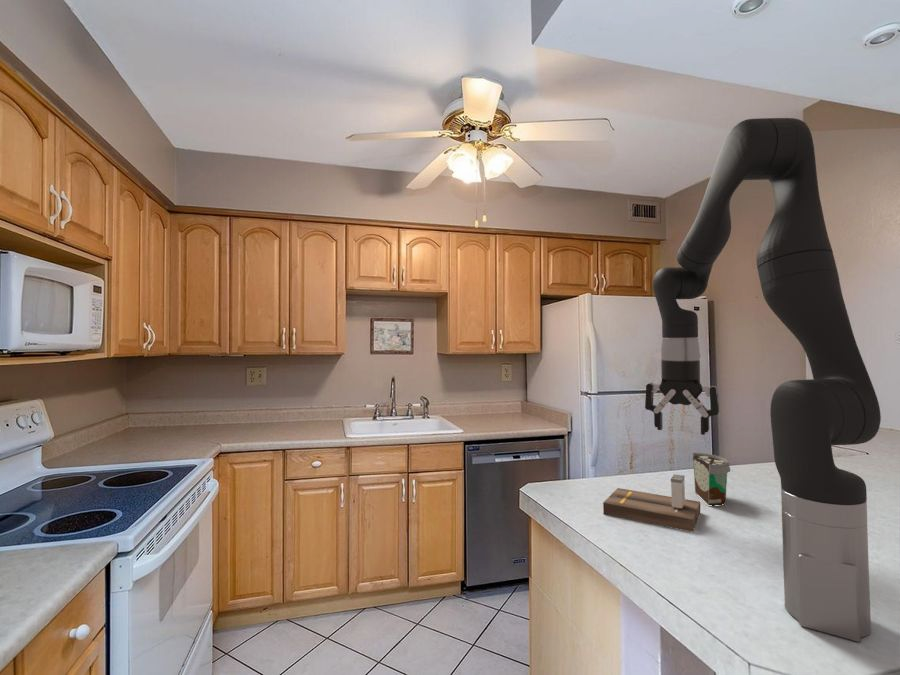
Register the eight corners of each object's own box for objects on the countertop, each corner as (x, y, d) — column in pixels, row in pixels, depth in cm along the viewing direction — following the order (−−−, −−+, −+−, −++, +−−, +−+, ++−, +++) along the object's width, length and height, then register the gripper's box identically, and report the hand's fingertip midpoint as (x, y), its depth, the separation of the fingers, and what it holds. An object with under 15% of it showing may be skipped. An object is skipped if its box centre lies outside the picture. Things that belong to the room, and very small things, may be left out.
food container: (740, 510, 101) (739, 466, 101) (711, 508, 102) (709, 465, 103) (719, 492, 113) (718, 452, 113) (693, 491, 114) (692, 452, 115)
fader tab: (682, 508, 95) (681, 480, 95) (671, 506, 96) (670, 478, 96) (685, 502, 98) (684, 475, 98) (674, 500, 100) (674, 474, 100)
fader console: (693, 532, 90) (692, 519, 90) (603, 513, 101) (603, 502, 101) (700, 512, 100) (700, 501, 100) (618, 498, 111) (617, 487, 111)
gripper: (641, 358, 99) (642, 431, 99) (716, 359, 90) (717, 439, 91) (648, 356, 105) (650, 425, 105) (719, 357, 97) (720, 432, 97)
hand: (681, 431), depth 98 cm, fingers open, 8 cm apart
